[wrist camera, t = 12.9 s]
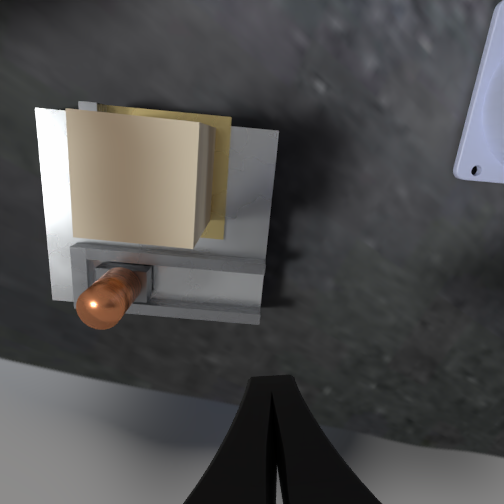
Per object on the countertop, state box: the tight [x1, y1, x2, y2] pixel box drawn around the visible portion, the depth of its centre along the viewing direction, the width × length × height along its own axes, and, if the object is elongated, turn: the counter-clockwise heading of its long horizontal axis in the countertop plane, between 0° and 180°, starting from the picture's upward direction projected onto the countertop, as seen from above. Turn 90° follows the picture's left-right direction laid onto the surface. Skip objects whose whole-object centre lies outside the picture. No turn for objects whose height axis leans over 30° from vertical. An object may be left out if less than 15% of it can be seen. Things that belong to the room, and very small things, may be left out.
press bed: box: [35, 101, 279, 325], centre depth 18 cm, size 12×10×2 cm
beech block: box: [65, 108, 216, 249], centre depth 15 cm, size 4×4×5 cm
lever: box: [76, 262, 152, 330], centre depth 17 cm, size 3×2×4 cm
